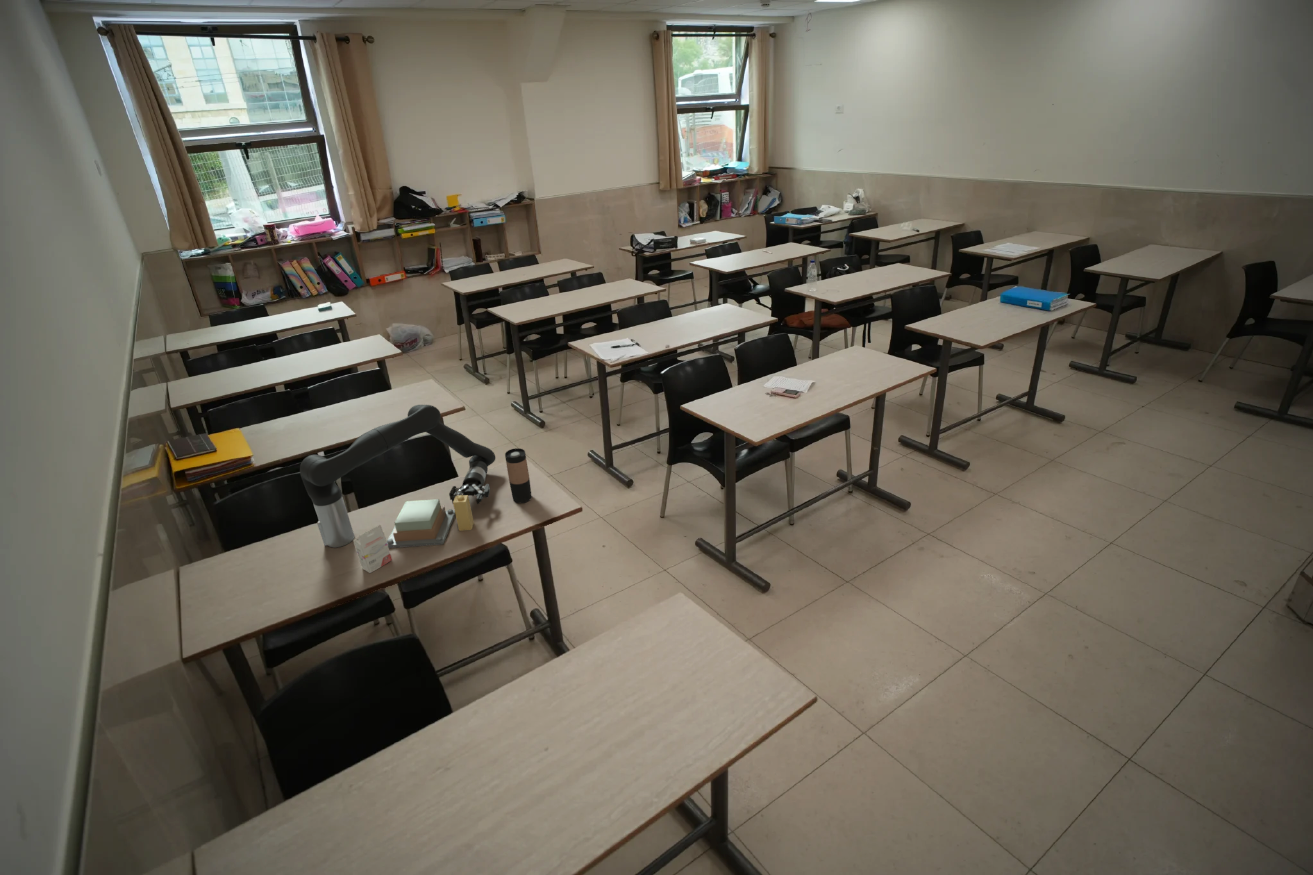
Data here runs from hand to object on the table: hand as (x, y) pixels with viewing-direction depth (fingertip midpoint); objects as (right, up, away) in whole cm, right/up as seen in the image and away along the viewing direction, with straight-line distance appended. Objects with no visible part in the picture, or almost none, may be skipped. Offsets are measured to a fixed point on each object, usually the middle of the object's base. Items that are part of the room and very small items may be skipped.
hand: (466, 502), depth 239 cm
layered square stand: (-15, -10, -2) cm, 18 cm away
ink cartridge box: (-24, -19, -19) cm, 36 cm away
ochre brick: (+1, -9, -2) cm, 9 cm away
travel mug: (+18, 0, +14) cm, 23 cm away
